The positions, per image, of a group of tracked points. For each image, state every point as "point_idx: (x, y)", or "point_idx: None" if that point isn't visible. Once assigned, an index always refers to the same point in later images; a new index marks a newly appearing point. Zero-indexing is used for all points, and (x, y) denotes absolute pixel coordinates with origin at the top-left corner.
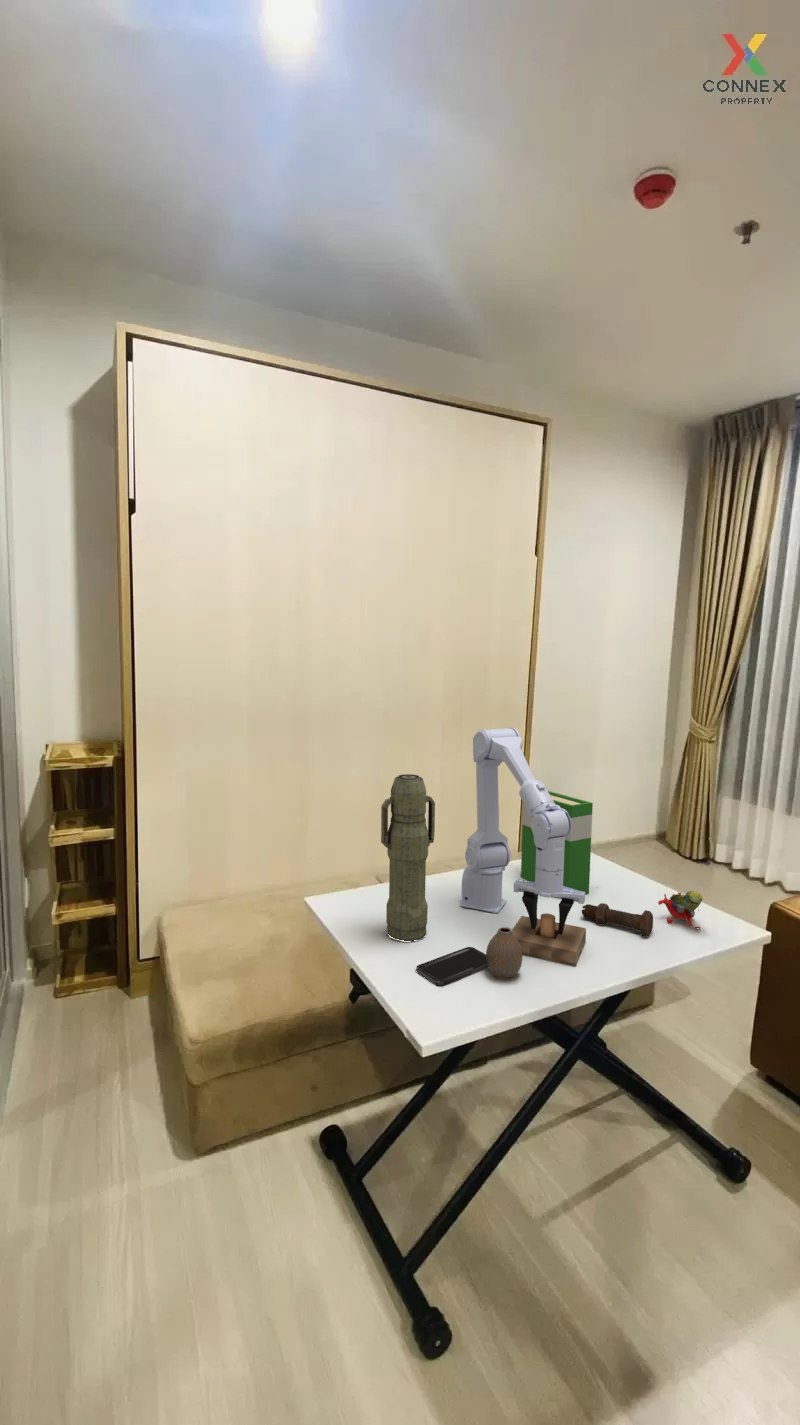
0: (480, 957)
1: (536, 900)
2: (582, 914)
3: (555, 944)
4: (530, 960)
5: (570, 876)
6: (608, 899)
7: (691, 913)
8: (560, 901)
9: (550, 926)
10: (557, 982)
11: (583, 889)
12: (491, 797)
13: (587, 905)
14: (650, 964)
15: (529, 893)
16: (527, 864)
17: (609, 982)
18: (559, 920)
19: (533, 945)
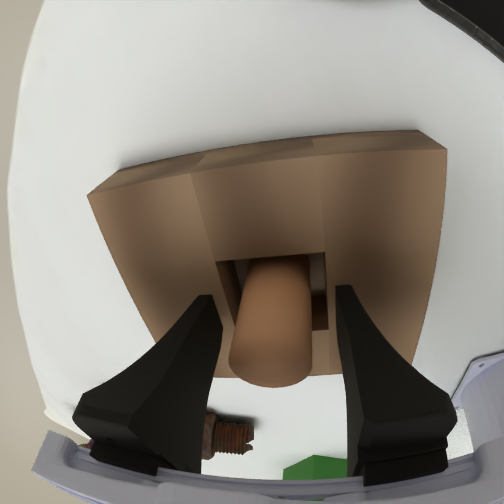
0: (480, 5)
1: (350, 438)
2: (252, 429)
3: (187, 209)
4: (291, 102)
5: (309, 500)
6: (244, 465)
7: (89, 442)
8: (154, 452)
9: (245, 312)
10: (117, 12)
11: (290, 476)
12: None
13: (240, 451)
14: (29, 295)
15: (401, 472)
16: None
17: (17, 147)
18: (180, 343)
19: (294, 154)
